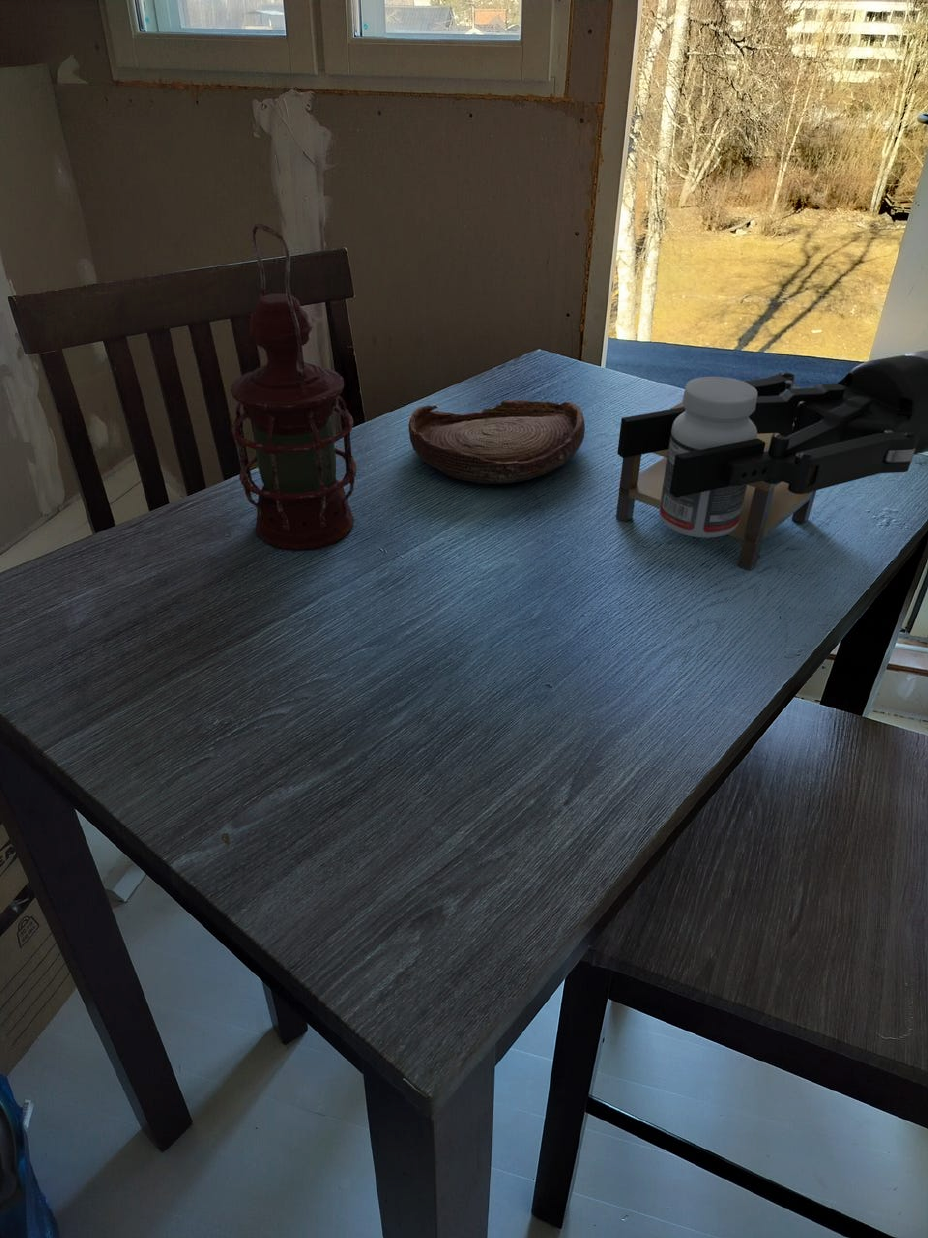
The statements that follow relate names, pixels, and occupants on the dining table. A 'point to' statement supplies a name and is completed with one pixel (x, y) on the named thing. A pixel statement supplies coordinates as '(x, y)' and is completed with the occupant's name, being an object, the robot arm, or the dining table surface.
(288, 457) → the lantern
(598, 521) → the dining table surface
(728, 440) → the pill bottle
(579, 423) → the basket
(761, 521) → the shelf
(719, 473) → the robot arm
